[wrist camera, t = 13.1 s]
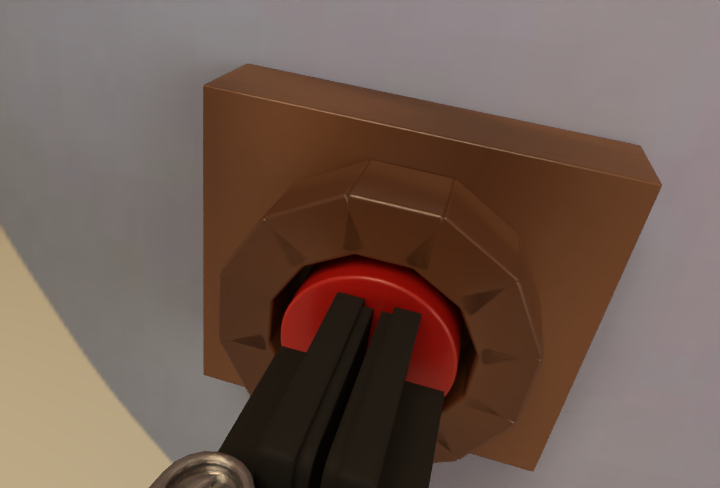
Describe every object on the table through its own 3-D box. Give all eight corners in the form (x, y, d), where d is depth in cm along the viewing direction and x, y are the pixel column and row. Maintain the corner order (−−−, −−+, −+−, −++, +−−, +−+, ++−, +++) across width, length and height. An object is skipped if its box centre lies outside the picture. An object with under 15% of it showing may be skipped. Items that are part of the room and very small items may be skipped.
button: (300, 345, 14) (273, 395, 12) (315, 216, 12) (286, 255, 11) (445, 386, 13) (435, 443, 12) (483, 256, 12) (477, 305, 10)
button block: (237, 327, 17) (168, 423, 14) (247, 63, 13) (153, 107, 10) (531, 410, 16) (534, 537, 13) (641, 145, 12) (688, 228, 9)
